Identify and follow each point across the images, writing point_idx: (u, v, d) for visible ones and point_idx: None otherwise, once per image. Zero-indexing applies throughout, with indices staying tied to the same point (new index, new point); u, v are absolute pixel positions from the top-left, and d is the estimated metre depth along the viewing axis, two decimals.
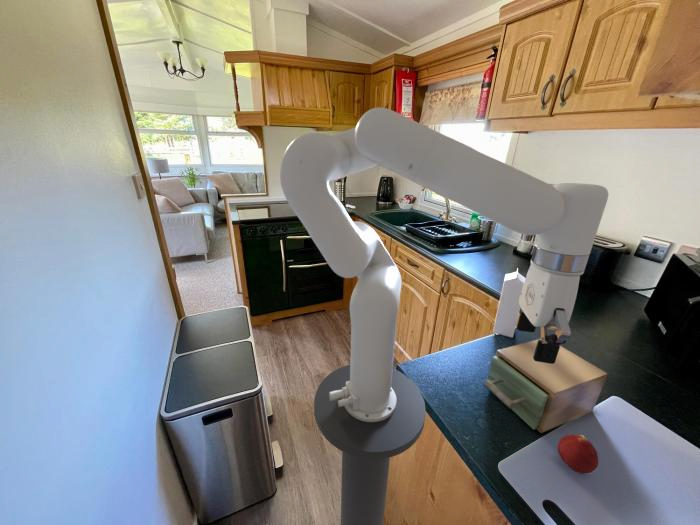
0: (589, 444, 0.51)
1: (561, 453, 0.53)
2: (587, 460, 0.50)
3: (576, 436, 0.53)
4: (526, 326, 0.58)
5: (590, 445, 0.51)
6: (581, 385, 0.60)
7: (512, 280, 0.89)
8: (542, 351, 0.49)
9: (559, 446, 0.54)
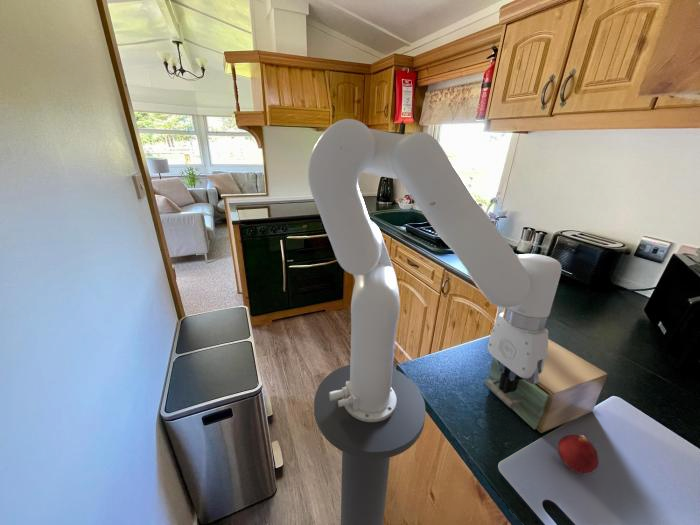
0: (589, 444, 0.51)
1: (561, 453, 0.53)
2: (587, 460, 0.50)
3: (576, 436, 0.53)
4: None
5: (590, 445, 0.51)
6: (581, 385, 0.60)
7: None
8: (510, 385, 0.61)
9: (559, 446, 0.54)
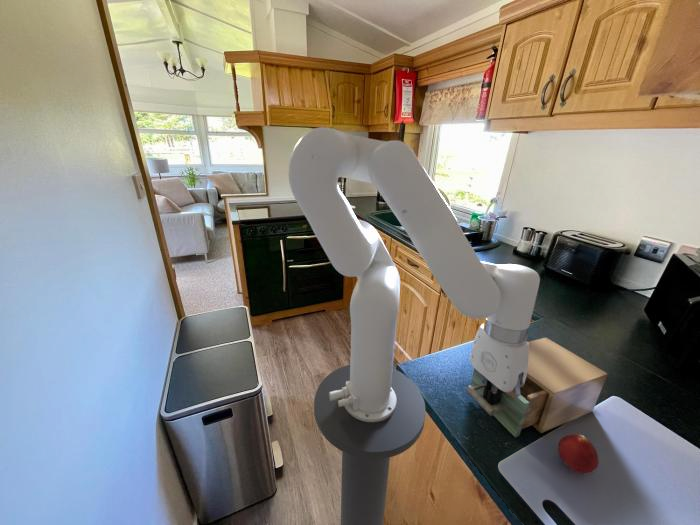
0: (589, 444, 0.51)
1: (561, 453, 0.53)
2: (587, 460, 0.50)
3: (576, 436, 0.53)
4: None
5: (590, 445, 0.51)
6: (581, 385, 0.60)
7: None
8: (493, 398, 0.60)
9: (559, 446, 0.54)
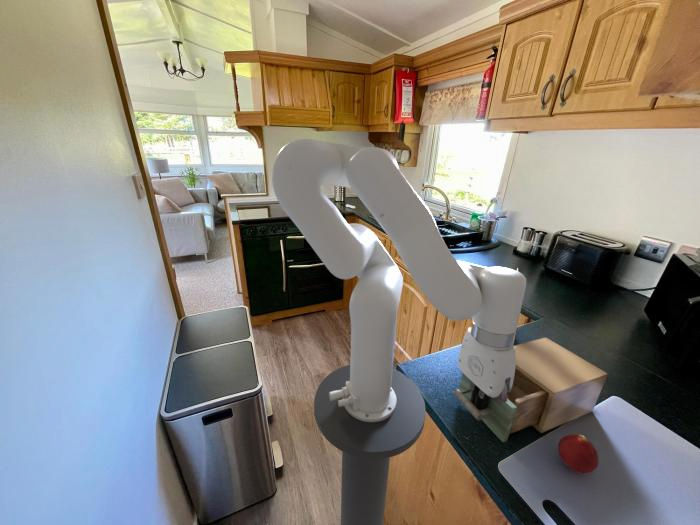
0: (589, 444, 0.51)
1: (561, 453, 0.53)
2: (587, 460, 0.50)
3: (576, 436, 0.53)
4: None
5: (590, 445, 0.51)
6: (581, 385, 0.60)
7: None
8: (480, 403, 0.59)
9: (559, 446, 0.54)
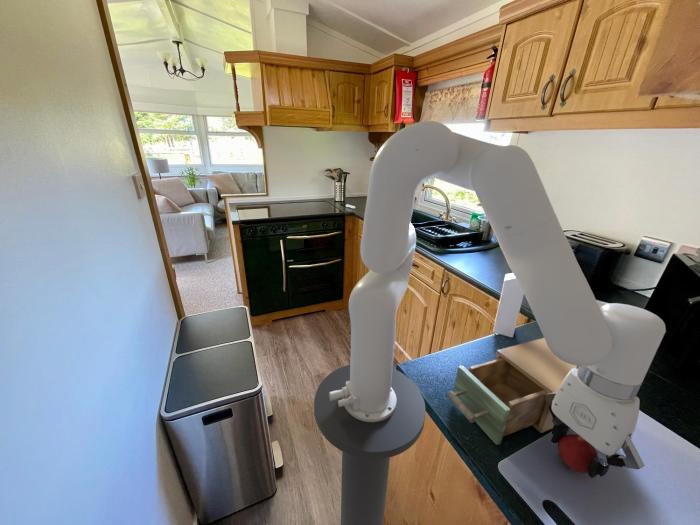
0: (588, 443, 0.51)
1: (561, 453, 0.53)
2: (587, 459, 0.50)
3: (575, 435, 0.53)
4: (560, 438, 0.55)
5: (589, 444, 0.51)
6: None
7: (512, 280, 0.89)
8: (599, 469, 0.49)
9: (559, 446, 0.54)
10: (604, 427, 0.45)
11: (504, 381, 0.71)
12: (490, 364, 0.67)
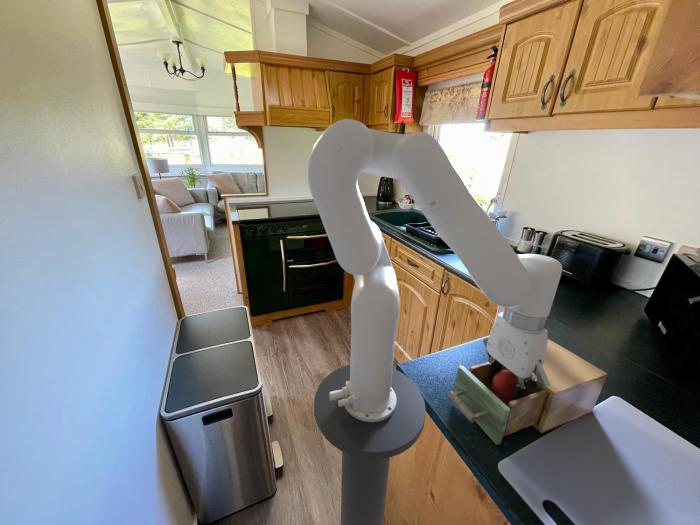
0: (514, 375, 0.61)
1: (493, 385, 0.63)
2: (512, 387, 0.60)
3: (505, 370, 0.63)
4: None
5: (515, 376, 0.61)
6: (581, 385, 0.60)
7: None
8: (520, 393, 0.59)
9: (492, 380, 0.64)
10: (520, 355, 0.56)
11: None
12: None
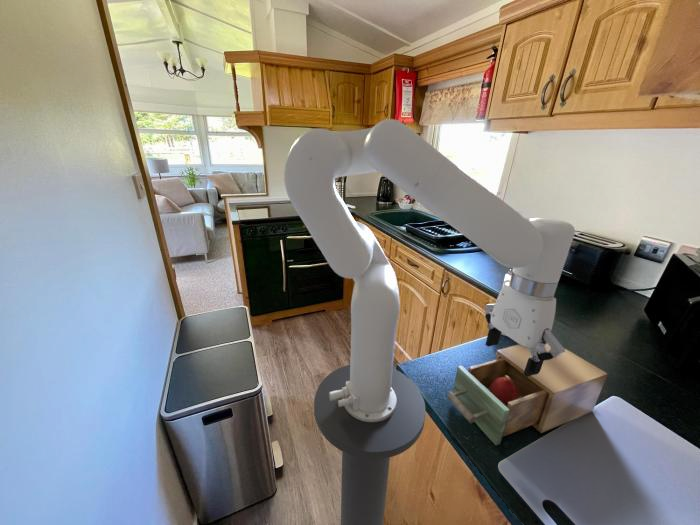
0: (511, 382, 0.62)
1: None
2: (509, 394, 0.61)
3: (503, 377, 0.63)
4: (493, 341, 0.64)
5: (512, 383, 0.62)
6: (581, 385, 0.60)
7: None
8: (533, 367, 0.55)
9: (490, 387, 0.64)
10: (526, 324, 0.53)
11: None
12: (489, 364, 0.67)
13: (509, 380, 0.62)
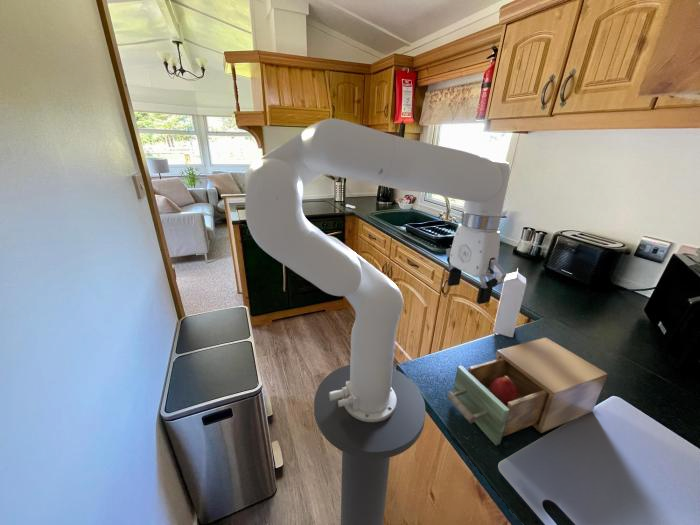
0: (511, 383, 0.62)
1: None
2: (509, 395, 0.61)
3: (502, 378, 0.63)
4: (454, 281, 0.71)
5: (512, 383, 0.62)
6: (581, 385, 0.60)
7: (512, 280, 0.89)
8: (483, 294, 0.62)
9: (489, 387, 0.64)
10: (475, 255, 0.60)
11: None
12: (489, 364, 0.67)
13: (509, 380, 0.62)
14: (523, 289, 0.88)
